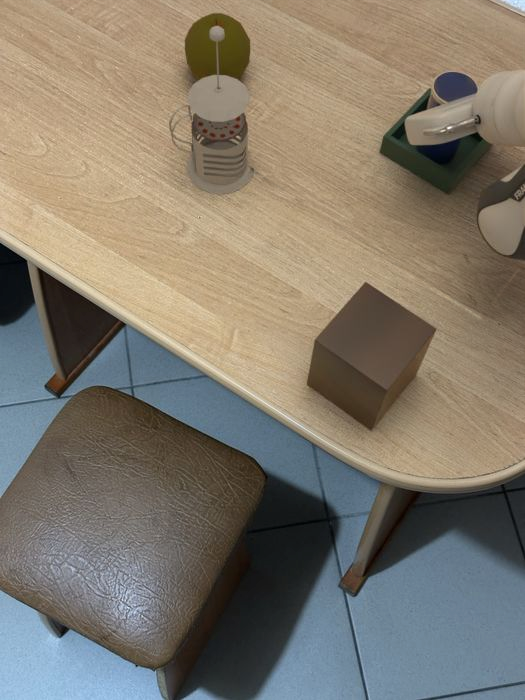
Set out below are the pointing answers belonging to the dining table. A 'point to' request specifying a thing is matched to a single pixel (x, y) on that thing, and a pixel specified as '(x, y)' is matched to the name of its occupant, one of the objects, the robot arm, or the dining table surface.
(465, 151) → the bin
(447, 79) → the canister
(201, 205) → the dining table surface
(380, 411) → the block
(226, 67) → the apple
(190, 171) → the french press
